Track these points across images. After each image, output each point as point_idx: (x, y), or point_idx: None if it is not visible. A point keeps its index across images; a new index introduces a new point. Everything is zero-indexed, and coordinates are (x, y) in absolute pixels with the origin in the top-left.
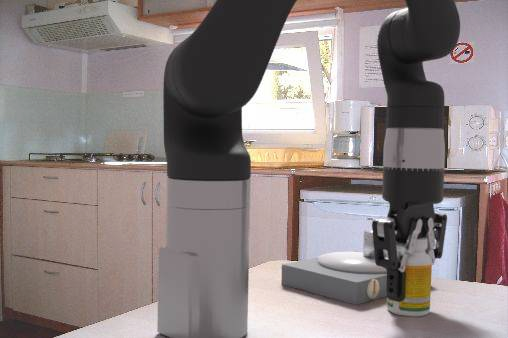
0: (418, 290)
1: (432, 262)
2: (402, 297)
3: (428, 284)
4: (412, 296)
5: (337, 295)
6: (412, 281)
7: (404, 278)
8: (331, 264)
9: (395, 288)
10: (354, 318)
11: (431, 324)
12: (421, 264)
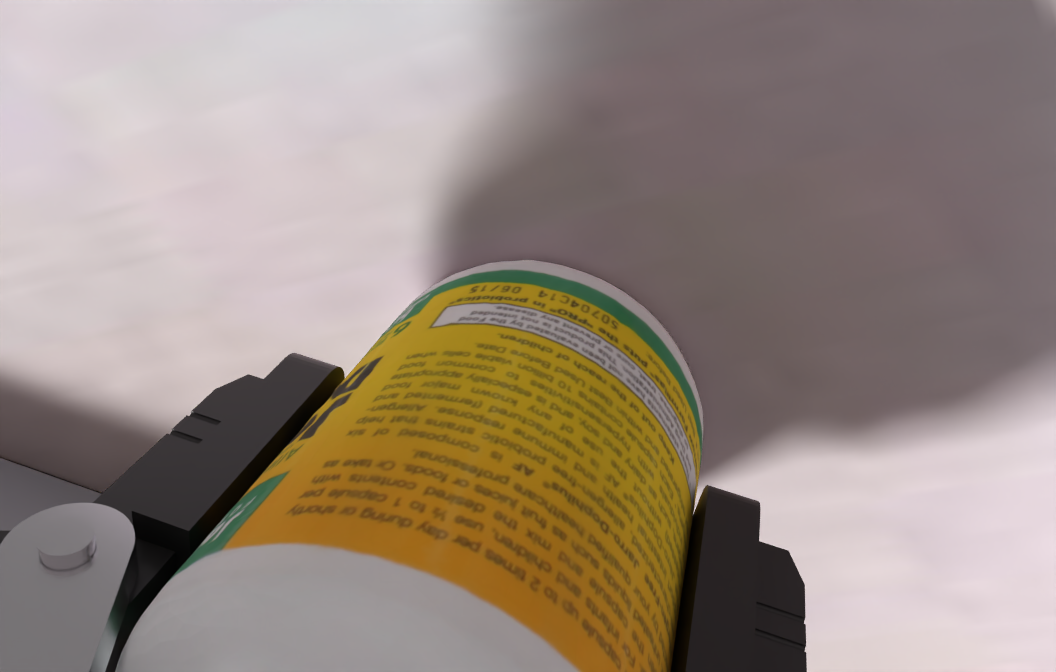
0: (626, 442)
1: (92, 530)
2: (747, 513)
3: (486, 400)
4: (671, 448)
5: None
6: (653, 560)
7: (709, 653)
8: None
9: (804, 632)
10: (957, 654)
11: (790, 164)
12: (534, 657)
